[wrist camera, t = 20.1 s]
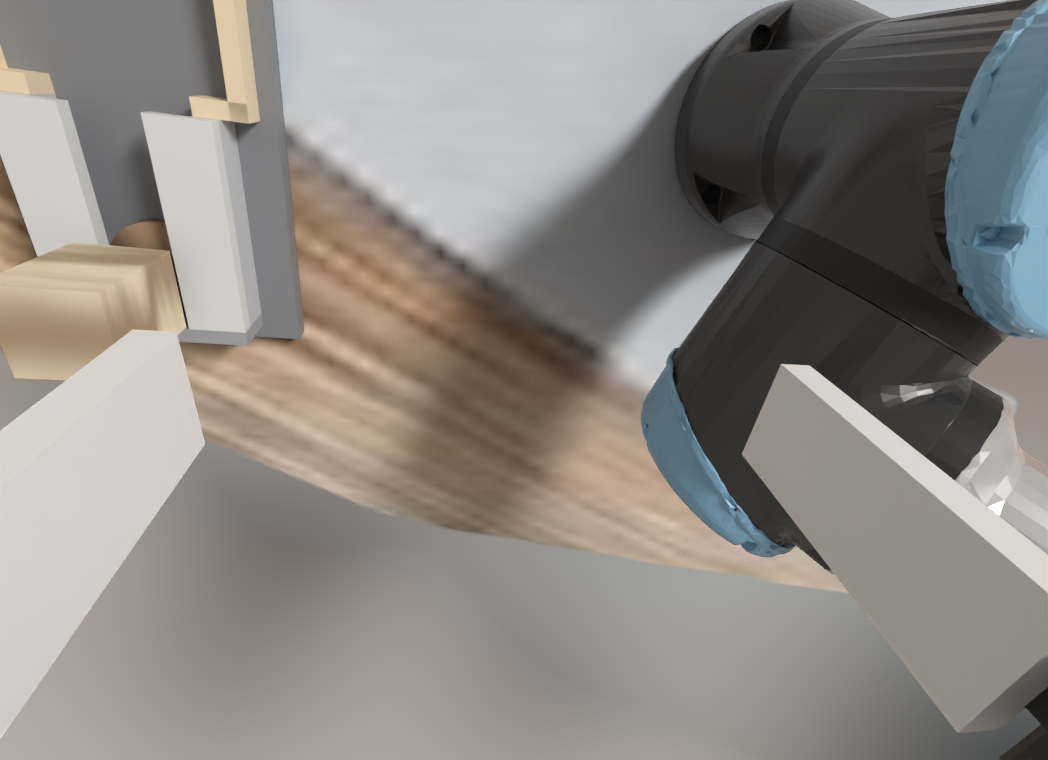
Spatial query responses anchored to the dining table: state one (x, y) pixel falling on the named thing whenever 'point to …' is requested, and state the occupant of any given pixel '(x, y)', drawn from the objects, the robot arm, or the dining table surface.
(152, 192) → the keyhole board
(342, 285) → the dining table surface
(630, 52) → the dining table surface
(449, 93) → the dining table surface
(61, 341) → the maple peg
